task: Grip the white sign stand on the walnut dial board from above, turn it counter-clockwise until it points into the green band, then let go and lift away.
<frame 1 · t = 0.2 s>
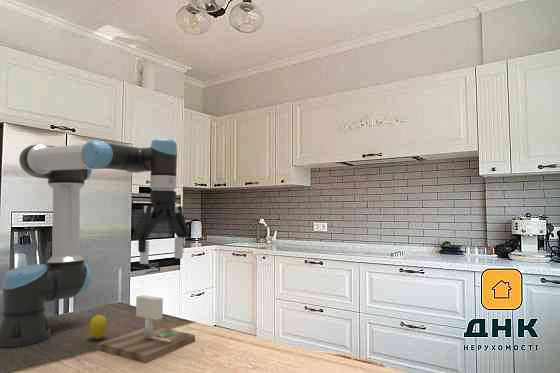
hand: (162, 260, 116), 27 cm above the counter, tool pointing down, fingers open, 13 cm apart
lemon: (97, 339, 126), on the counter
dial board: (148, 345, 121), on the counter
white sign stand: (154, 318, 120), point 9 cm above the counter, hinge at 0.0°
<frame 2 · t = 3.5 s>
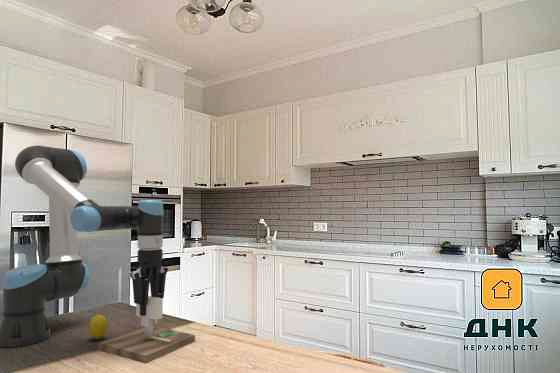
hand: (149, 324, 121), 7 cm above the counter, tool pointing down, fingers closed on white sign stand, 2 cm apart
white sign stand: (154, 318, 120), point 9 cm above the counter, hinge at 0.0°, touching gripper
everything else where it was.
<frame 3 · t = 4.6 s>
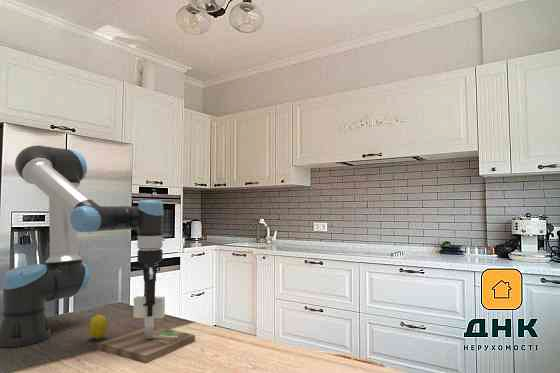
hand: (148, 324, 121), 7 cm above the counter, tool pointing down, fingers closed on white sign stand, 4 cm apart
white sign stand: (156, 317, 121), point 9 cm above the counter, hinge at 26.1°, touching gripper
everything else where it was.
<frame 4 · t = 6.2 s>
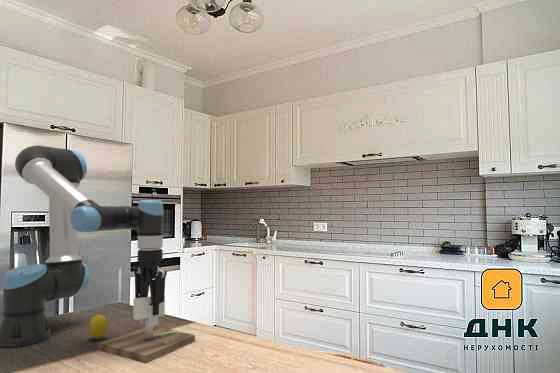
hand: (148, 324, 121), 7 cm above the counter, tool pointing down, fingers closed on white sign stand, 4 cm apart
white sign stand: (156, 316, 122), point 9 cm above the counter, hinge at 64.4°, touching gripper
everything else where it was.
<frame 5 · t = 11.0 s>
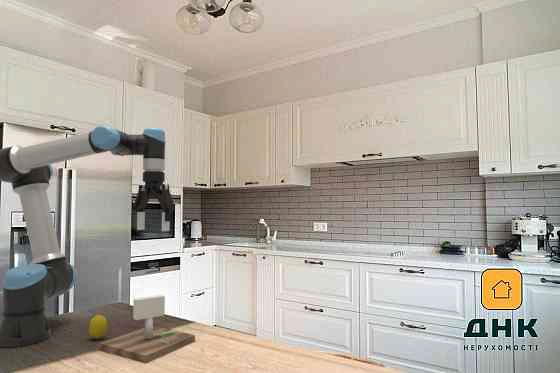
hand: (152, 230, 139), 35 cm above the counter, tool pointing down, fingers open, 13 cm apart
white sign stand: (156, 316, 122), point 9 cm above the counter, hinge at 65.5°
everything else where it was.
at the end: white sign stand at +66° (first picture: +0°); the gripper is holding nothing; lemon moved 0.2 cm from its start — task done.
